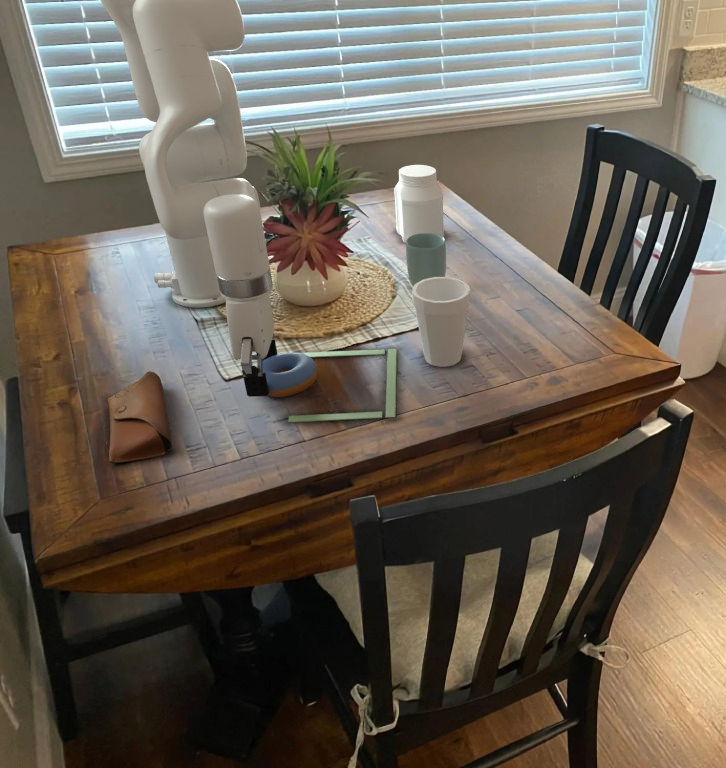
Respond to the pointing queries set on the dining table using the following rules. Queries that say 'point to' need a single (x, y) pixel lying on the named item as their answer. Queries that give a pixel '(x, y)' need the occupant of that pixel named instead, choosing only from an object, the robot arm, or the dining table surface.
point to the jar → (418, 202)
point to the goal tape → (364, 415)
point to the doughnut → (289, 373)
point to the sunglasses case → (139, 421)
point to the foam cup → (441, 318)
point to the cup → (425, 256)
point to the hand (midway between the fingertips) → (263, 377)
